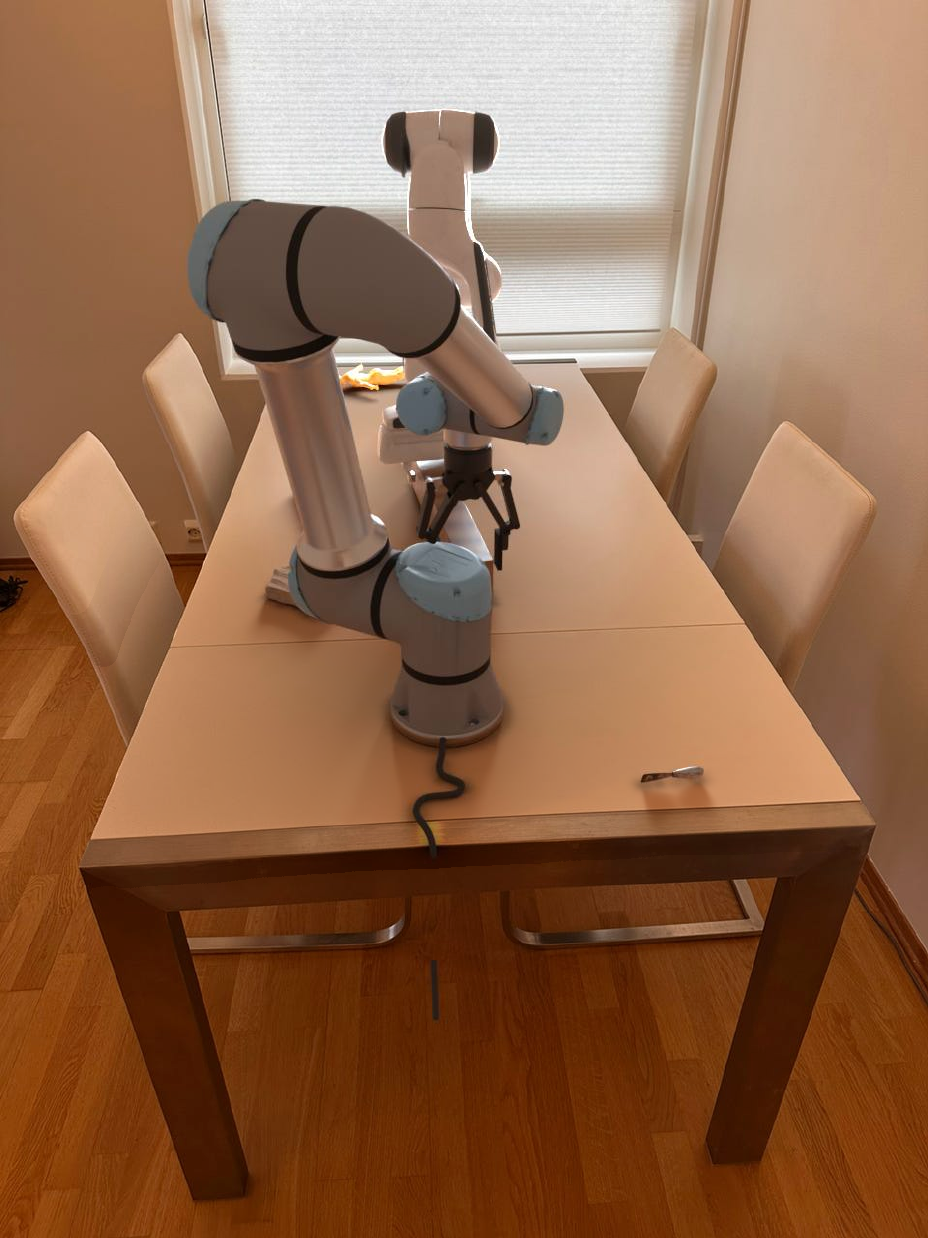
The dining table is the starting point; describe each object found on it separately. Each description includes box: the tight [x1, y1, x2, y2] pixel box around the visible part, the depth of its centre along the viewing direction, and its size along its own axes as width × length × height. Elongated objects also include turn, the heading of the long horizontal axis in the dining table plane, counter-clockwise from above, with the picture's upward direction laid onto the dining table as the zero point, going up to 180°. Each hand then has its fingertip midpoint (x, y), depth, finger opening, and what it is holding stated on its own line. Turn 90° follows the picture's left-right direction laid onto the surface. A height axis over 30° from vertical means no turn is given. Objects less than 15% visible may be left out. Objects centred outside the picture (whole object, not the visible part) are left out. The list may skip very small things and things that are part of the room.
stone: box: [264, 565, 299, 609], centre depth 147 cm, size 13×12×3 cm
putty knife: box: [640, 765, 705, 784], centre depth 109 cm, size 1×8×2 cm, turn 103°
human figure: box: [339, 362, 405, 391], centre depth 243 cm, size 20×20×4 cm
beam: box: [410, 459, 495, 596], centre depth 163 cm, size 50×5×8 cm, turn 12°
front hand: (468, 569), depth 149 cm, fingers open, 9 cm apart
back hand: (430, 479), depth 178 cm, fingers open, 6 cm apart
